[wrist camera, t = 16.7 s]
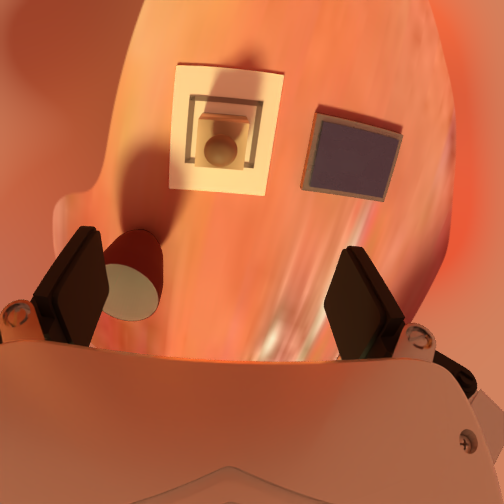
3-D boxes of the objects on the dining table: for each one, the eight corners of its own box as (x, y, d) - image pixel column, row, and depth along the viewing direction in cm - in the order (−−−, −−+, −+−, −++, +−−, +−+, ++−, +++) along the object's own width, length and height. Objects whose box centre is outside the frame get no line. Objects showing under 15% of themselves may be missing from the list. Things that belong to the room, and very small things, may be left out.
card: (283, 75, 27) (284, 75, 27) (264, 194, 35) (264, 196, 34) (176, 65, 26) (176, 65, 25) (169, 187, 33) (168, 188, 33)
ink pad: (399, 133, 31) (405, 136, 30) (380, 198, 36) (385, 203, 35) (314, 112, 30) (318, 114, 28) (299, 186, 34) (302, 191, 33)
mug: (177, 282, 41) (167, 337, 33) (123, 281, 40) (104, 333, 32) (169, 213, 35) (153, 263, 27) (108, 215, 34) (77, 262, 26)
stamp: (246, 115, 29) (252, 130, 22) (241, 155, 32) (245, 183, 24) (203, 111, 28) (194, 125, 21) (199, 152, 31) (190, 179, 24)
